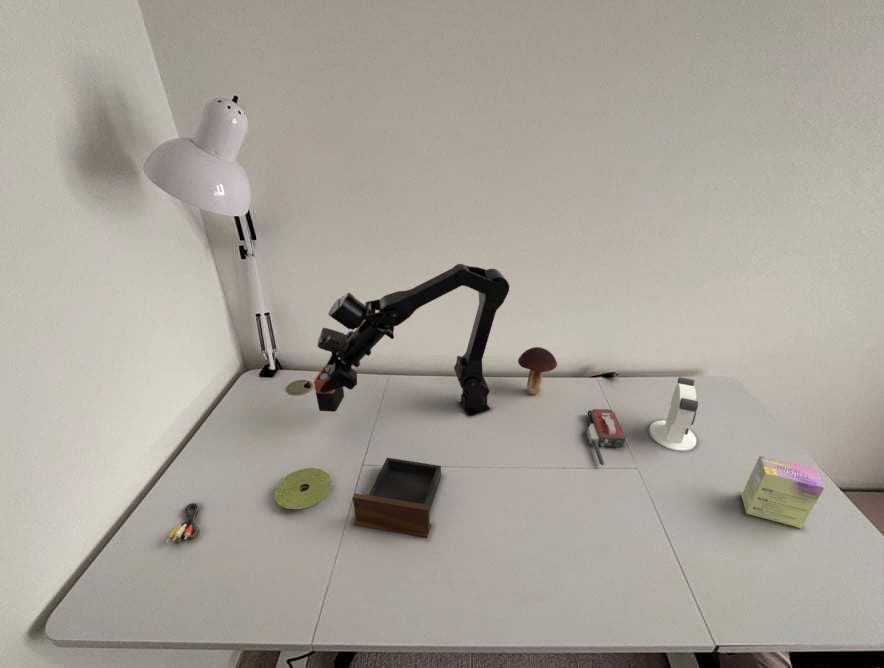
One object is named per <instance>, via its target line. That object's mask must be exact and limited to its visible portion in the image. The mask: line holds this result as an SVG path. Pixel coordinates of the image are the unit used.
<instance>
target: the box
mask: <svg viewBox="0 0 884 668" xmlns="http://www.w3.org/2000/svg"><path fill="white" fill-rule="evenodd" d="M822 480H823V479H822V478H821V476H820V474H819V472H818V470H817V468H815V467H811V466H806V465H801V464H799V463H798V464H797V463H793V462H789V461H786V460H785V461H784V460H780V459H777V458H772V457H768V456H764V455H759V456H758V458H757V461H756V463H755V465H754V467H753V469H752V471H751V473H750V475H749V477H748V480H747V482H746V484H745V486H744V489H743V490H742V492H741V498H742V503H743V507H744V510H745V514H746V515H750V516H754V517H758V518H761V519H766V520H769V521H773V522H776V523H780V524H784V525H788V526H791V527H795V528H798V529H802V528H803V527H804V524H805V523H806V521H807V519H808V517H809V516H810V514H811V512H812V511H813V509H814V507H815V506H816V504H817V502H818V500H819V498H820V497H821V495H822V493H823V491H824V490H825V488H826V487H825V485H824V483H823V481H822Z"/></svg>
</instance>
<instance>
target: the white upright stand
mask: <svg viewBox="0 0 884 668" xmlns="http://www.w3.org/2000/svg"><path fill="white" fill-rule="evenodd" d="M694 385H695V379H691V378H686V377H683V376H679V377H678V379H677V383H676V385H675V386H674V390H673V392H672V396H671V401H670V407H669V409H668V414H667V417H666V420H657V421H654V422H653V423H651V425H650V426H649V430H648V431H649V435H650V437H651V438H652V439H653V440H654V441H655V442H656V443H658V444H659V445H660V446H662V447H664V448H667V449H669V450H672V451H677V452H686V451H690V450H692V449H694V448H695V446H696V445H697V437H696V436H695V434H694V432H692V430H690V427H691V426H693V425H694V423H695V420H696V416H697V415H696V414H697V410H698V407H699V401H698V400H697V391H696V387H695V386H694Z"/></svg>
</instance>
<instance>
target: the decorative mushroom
mask: <svg viewBox="0 0 884 668" xmlns="http://www.w3.org/2000/svg"><path fill="white" fill-rule="evenodd" d="M517 362H518V365H519V366H520V367H521V368H524V369H527V370H529V374H528V377H527V385H526V389H527V391H528V393H529V394H531V395H538V394H541V391H542V389H543V378H544V377H543V373H547V372H550V371H553V370H555V369H556V368H557V367H558V362H557V359H556V357H555V356H554V355H553V353H552V352H551V351H550V350H548V349H546V348H544V347H541V346H540V347H539V346H535V347H531V348H528V349H527V350H525V351H524V352H523V353H521V354H520V356H519V357H518V359H517Z"/></svg>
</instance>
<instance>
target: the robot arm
mask: <svg viewBox="0 0 884 668" xmlns="http://www.w3.org/2000/svg"><path fill="white" fill-rule="evenodd" d="M461 287H467V288H469V289H472V290H474V291H476V292H478V306H477V309H476V314H475V318H474V321H473V326H472V329H471V333H470V337H469V340H468V343H467V347H466V351H465V353H464V354H463V355H462V356H461V355H456V361H455V364H454V366H453V370H454V372H455V375H456V378H457V381H458V383H459V386H460V388H461V389H462V390H461V391H462V392H461V394H460V401H459V405H460V407H461V408H462V410H463V411H464V412H465V413H466V414H467V415H468V416H469V417H472V416H475V415H479V414H482V413H484V412H488V411H490V410H491V407H490V406H489V405H488V396H489V394H490V391H491V389H490V387H489V386H488V384H487V382H486V379H485V377H484V374H483V358H484V355H485V351H486V347H487V344H488V341H489V337H490V333H491V330H492V328H493V327H492V326H493V323H494V320H495V316H496V313H497V311H498V310H499V308H500V307H502V305H503V304H504V302H505V300H506V299H507V297H508V295H509V292H510V283H509V281H508V280H507V279H506V278H505V277H504V275H503V274H502V273H501V271H500V270H498V269H496V268H488V269H486V268H482V267H479V266H470V265H466V264H463V263H457V264H456V265H454V266H453V267H452V268H450V269H448V270H446V271H443V272H441V273H440V274H438V275H436V276H434V277H432V278H430V279H428V280H427V281H424V282H423V283H420V284H418V285H417V286H414V287H413V288H410V289H407V290H398V291H395V292H392V293H388V294H385V295H383V296H382V297H381V298H379V299H374V300H369V301H365V303H363V302H361V301H360V300H359V299H357V298H356V297H355V296H354V295H353V294H352V293H351V292H347V293H346V294H345V295H342V296H341V297H340V298H338V299H336V301H335V302H334V303H333V304H332V306H331V307H330V309H329V311H328V316H329V317H331V318H332V319H333V320H335V321H336V322H338V323H339V324H340V325H342V326H344V327H345V328H347V330H348V332H347V333H346V334H345V333H344V332H341V331H338V330H334V329H331V328H327V327H322V328H321V332H320V334H319V337H318V340H317V348H318V349H321V350H323V351H325V352H330V353H331V355H330V356H329V359H328V360H327V363H326V364H325V366H327V365H332V367H329V377H328V379H327V380H326V381H325V383H324V384H323V386H322V387H321V389H320V392H322V393H325V392H328V391H331V390H334V389H337V388H341V387H343V388H344V387H345V388H347V389H348V390H351V391H352V390H353V389H354V388H355V387H356V386H357V385H358V373H357V370H355V369H353V368H352V366H353V367H355V368H359V367H360V366H361V361H362V360H363V359H364V357H365V356H368V357H369V356H370V355H371V354H372V349H373V348H374V347H375V346H376V345H377V344H378V343H379V342H380V341H381V339H383V337H385V336H386V337H388V338H389V339H391V340H394V339H395V333H394V331H395V327H398V326H400V325H401V324H403V323H404V322H405V321H407V320H408V319H409V318H411V316H412V315H413V314H414V313H415V312H416V311H417V310H418V309H420V308H422V307H423V306H425V305H427V304H429V303H431V302H433V301H436V299H439V298H441V297H443V296H444V295H447V294H448V293H451V292H453V291H454V290H457V289H458V288H461ZM376 311H377V312H376ZM350 330H351V331H350Z"/></svg>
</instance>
